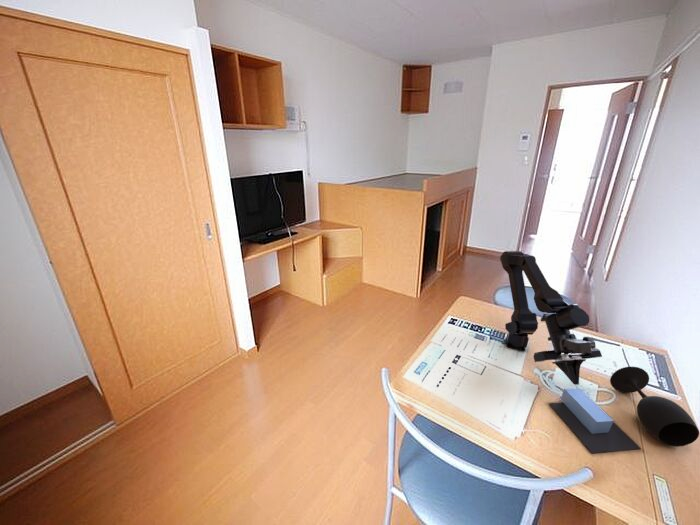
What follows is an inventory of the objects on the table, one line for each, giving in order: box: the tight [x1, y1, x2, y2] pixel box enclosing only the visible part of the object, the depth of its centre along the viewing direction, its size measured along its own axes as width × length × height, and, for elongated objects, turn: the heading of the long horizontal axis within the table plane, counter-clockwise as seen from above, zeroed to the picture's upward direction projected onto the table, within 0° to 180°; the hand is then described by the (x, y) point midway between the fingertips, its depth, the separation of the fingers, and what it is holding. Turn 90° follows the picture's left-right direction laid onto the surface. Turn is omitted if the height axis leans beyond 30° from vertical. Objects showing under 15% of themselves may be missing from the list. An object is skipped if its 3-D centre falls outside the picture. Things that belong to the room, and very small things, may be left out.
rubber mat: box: [548, 401, 641, 454], centre depth 87 cm, size 16×14×1 cm
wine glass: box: [609, 366, 700, 448], centre depth 88 cm, size 10×10×20 cm
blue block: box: [560, 387, 614, 434], centre depth 89 cm, size 4×5×12 cm
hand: (576, 384), depth 92 cm, fingers closed
